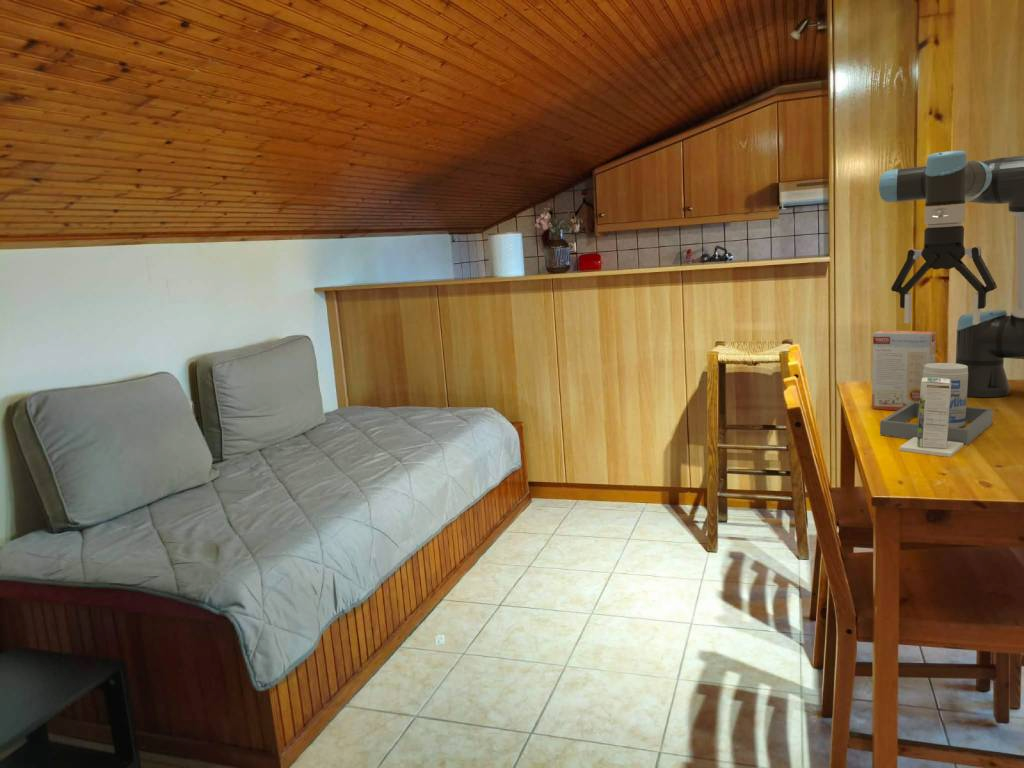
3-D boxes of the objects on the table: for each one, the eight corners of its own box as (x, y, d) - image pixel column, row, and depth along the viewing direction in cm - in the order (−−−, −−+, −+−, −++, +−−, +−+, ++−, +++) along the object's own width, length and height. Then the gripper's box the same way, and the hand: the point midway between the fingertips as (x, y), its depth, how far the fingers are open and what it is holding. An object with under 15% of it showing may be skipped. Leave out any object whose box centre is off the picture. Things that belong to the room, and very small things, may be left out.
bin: (911, 415, 197) (911, 402, 196) (992, 423, 185) (993, 409, 184) (880, 435, 180) (880, 420, 179) (966, 445, 168) (967, 430, 167)
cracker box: (934, 409, 202) (937, 330, 198) (927, 414, 197) (931, 333, 194) (877, 404, 211) (880, 329, 207) (870, 409, 207) (872, 331, 203)
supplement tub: (946, 431, 180) (949, 370, 177) (911, 424, 188) (913, 365, 186) (974, 426, 184) (978, 365, 181) (939, 418, 192) (941, 360, 190)
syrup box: (917, 440, 171) (920, 376, 168) (948, 442, 168) (951, 377, 166) (917, 447, 166) (919, 381, 163) (948, 449, 163) (951, 382, 161)
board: (913, 440, 174) (913, 437, 174) (963, 446, 167) (963, 442, 167) (899, 450, 167) (899, 447, 167) (950, 457, 160) (950, 453, 160)
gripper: (877, 230, 172) (876, 324, 176) (1008, 222, 155) (1003, 326, 159) (888, 228, 177) (886, 319, 181) (1015, 221, 160) (1010, 322, 164)
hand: (941, 323), depth 170 cm, fingers open, 13 cm apart
